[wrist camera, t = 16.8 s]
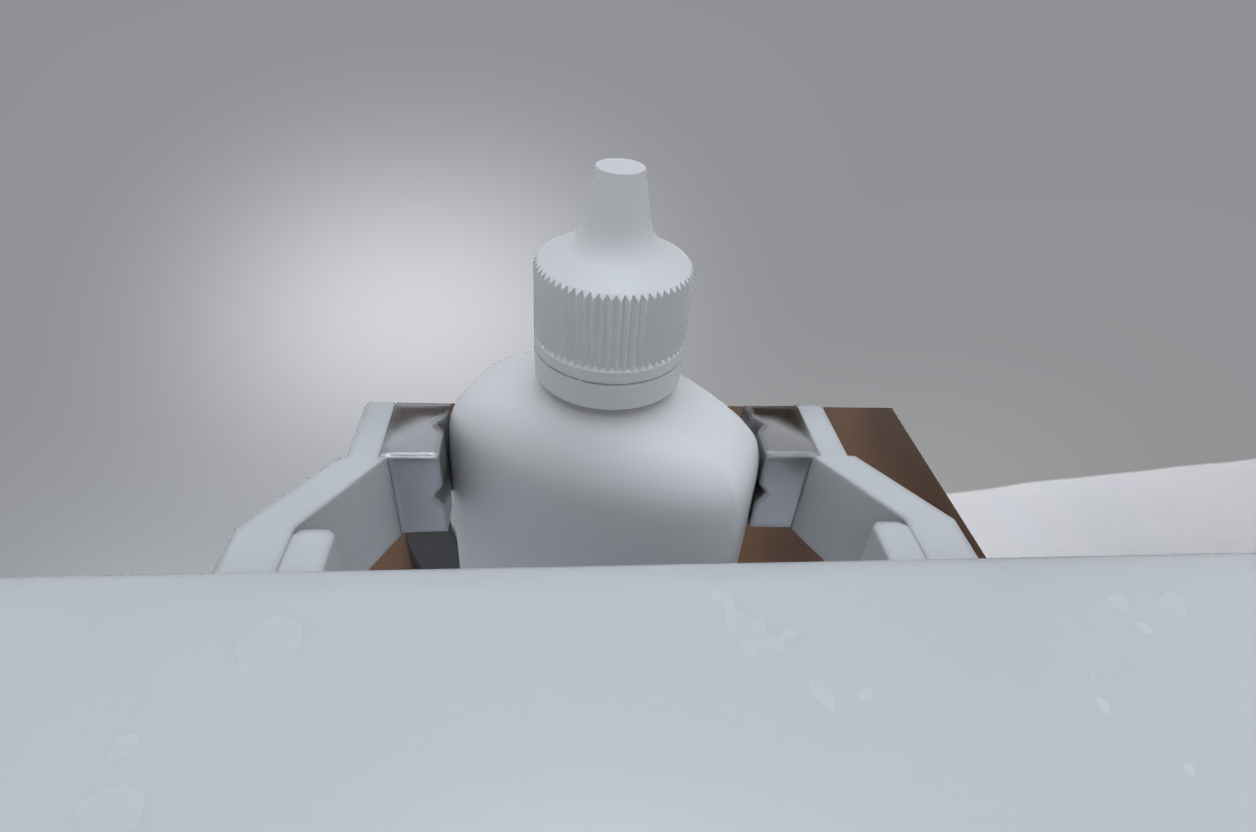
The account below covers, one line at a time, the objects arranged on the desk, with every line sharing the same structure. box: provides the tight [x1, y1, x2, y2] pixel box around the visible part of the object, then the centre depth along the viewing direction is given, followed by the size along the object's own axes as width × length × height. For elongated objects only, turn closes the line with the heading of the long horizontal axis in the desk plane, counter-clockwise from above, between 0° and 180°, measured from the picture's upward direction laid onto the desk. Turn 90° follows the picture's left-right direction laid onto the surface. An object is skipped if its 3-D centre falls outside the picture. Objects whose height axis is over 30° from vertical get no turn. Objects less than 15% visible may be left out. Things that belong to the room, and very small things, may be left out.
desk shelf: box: [369, 403, 986, 570], centre depth 32 cm, size 23×14×18 cm, turn 95°
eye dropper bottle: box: [449, 158, 760, 569], centre depth 13 cm, size 4×6×12 cm
